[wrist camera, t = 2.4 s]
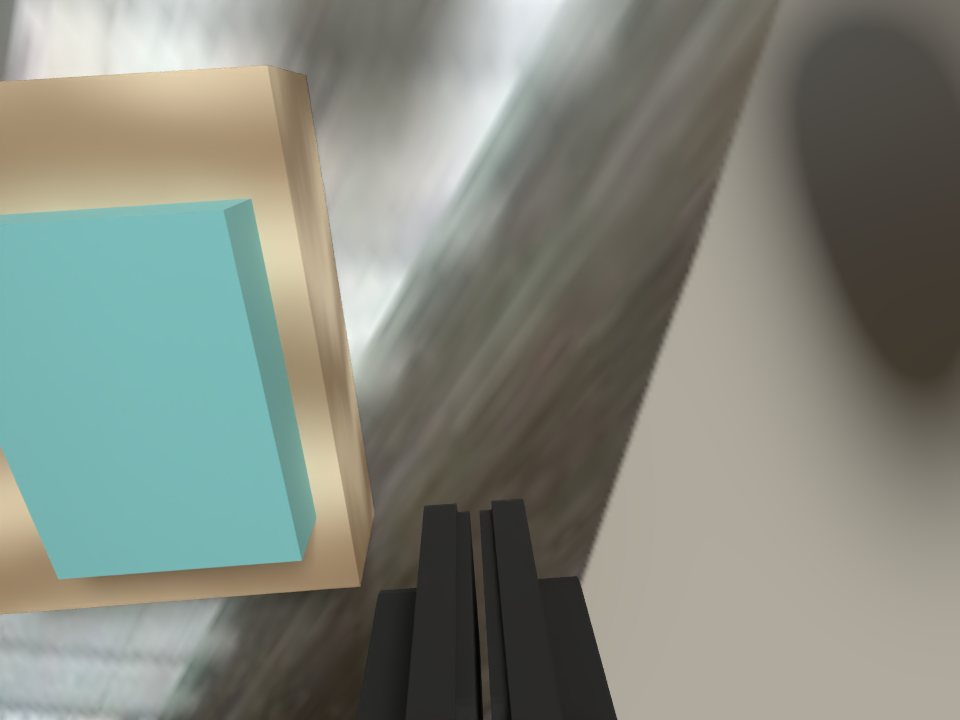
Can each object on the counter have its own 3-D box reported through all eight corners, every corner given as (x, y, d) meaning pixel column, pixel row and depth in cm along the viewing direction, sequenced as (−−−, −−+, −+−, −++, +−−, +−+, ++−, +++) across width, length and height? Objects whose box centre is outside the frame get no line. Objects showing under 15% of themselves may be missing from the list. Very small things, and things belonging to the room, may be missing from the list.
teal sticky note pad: (-26, 216, 15) (-94, 230, 13) (251, 198, 15) (223, 209, 13) (97, 533, 19) (58, 579, 17) (316, 517, 19) (301, 560, 17)
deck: (-136, 102, 17) (-295, 99, 14) (305, 75, 18) (267, 65, 14) (49, 537, 24) (-25, 616, 20) (374, 513, 24) (360, 586, 20)
